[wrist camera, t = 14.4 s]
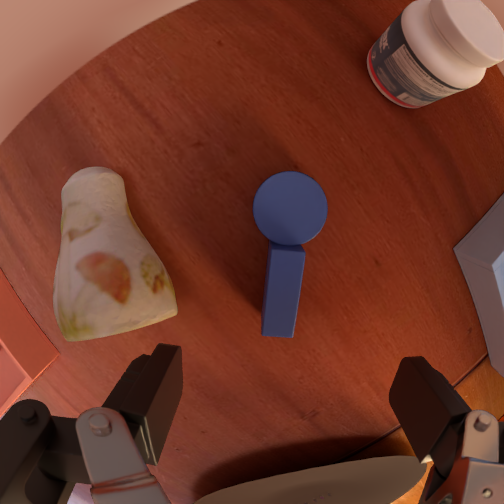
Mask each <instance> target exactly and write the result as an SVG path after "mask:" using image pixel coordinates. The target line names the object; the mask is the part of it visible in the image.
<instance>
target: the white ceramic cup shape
mask: <svg viewBox="0 0 504 504" xmlns="http://www.w3.org/2000/svg"><path fill="white" fill-rule="evenodd" d="M61 199H62V212H63V213H62V217H61V234H62V239H61V245H60V250H59V255H58V260H57V266H56V272H55V278H54V286H53V307H54V313H55V317H56V320H57V323H58V326H59V328H60V330H61V332H62V334H63V336H64V338H65V339H66V340H67V341H82V340H89V339H95V338H100V337H105V336H110V335H115V334H119V333H123V332H127V331H131V330H135V329H138V328H142V327H145V326H148V325H151V324H154V323H157V322H160V321H162V320H165V319H167V318H170V317H173V316H175V315H177V313H178V308H177V303H176V297H175V291H174V288H173V284H172V281H171V279H170V277H169V274H168V272H167V270H166V268H165V266H164V265H163V263H162V262H161V260H160V259H159V257H158V256H157V254H156V253H155V251H154V250H153V248H152V247H151V245H150V244H149V242H148V241H147V239H146V238H145V237H144V235H143V234H142V232H141V231H140V229H139V228H138V226H137V225H136V223H135V221H134V219H133V217H132V215H131V212H130V210H129V206H128V203H127V198H126V193H125V187H124V181H123V179H122V177H121V176H120V175H118V174H117V173H116V172H114V171H113V170H111V169H109V168H105V167H88V168H85V169H82V170H80V171H78V172H76V173H75V174H73V175H72V176H71V177H70V178H69V180H68V181H67V183H66V184H65V185H64V187H63V189H62V192H61Z"/></svg>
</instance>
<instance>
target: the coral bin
mask: <svg viewBox="0 0 504 504" xmlns="http://www.w3.org/2000/svg"><path fill="white" fill-rule="evenodd" d="M0 348H1V351H0V417H1V416H2V415H3V414H4V413H5V412H6V410H7V409H8V408H9V407H10V406H11V405H12V404H13V403H14V401H15V400H16V399H17V398H18V397H19V396H20V395H21V394H22V393H23V392H24V391H25V389H26V388H27V387H28V386H29V385H30V384H31V383H32V382H33V381H34V380H35V379H36V378H37V377H38V376H39V375H40V374H41V373H42V372H43V371H44V369H45V368H46V367H47V366H48V365H49V364H50V363H51V362H52V361H53V360H54V359H55V358H56V357H57V356H58V355H59V354H60V353H59V351H58V350H57V349H56V348H55V347H54V345H53V344H52V343H51V342H50V340H49V339H48V338H47V337H46V335H45V334H44V333H43V332H42V330H41V329H40V328H39V326H38V325H37V324H36V322H35V321H34V319H33V318H32V317H31V315H30V314H29V312H28V311H27V310H26V308H25V307H24V305H23V304H22V302H21V301H20V299H19V298H18V296H17V295H16V293H15V291H14V290H13V288H12V287H11V285H10V283H9V282H8V280H7V278H6V277H5V275H4V273H3V272H2V270H1V268H0Z"/></svg>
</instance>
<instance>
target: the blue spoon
mask: <svg viewBox="0 0 504 504" xmlns="http://www.w3.org/2000/svg"><path fill="white" fill-rule="evenodd" d="M327 210H328V206H327V200H326V196H325V194H324V192H323V190H322V188H321V187H320V185H319V184H318V183H317V182H316V181H315V180H314V179H313V178H311V177H310V176H308V175H306V174H304V173H301V172H296V171H284V172H279V173H277V174H274V175H272V176H270V177H269V178H268V179H266V180H265V181H264V182H263V183H262V184H261V185H260V187H259V188H258V190H257V192H256V194H255V197H254V201H253V216H254V220H255V222H256V225H257V227H258V228H259V230H260V231H261V232H262V234H263V235H264V236H265V237H267V238H268V239H269V247H268V257H267V267H266V277H265V286H264V296H263V305H262V314H261V334H262V336H273V337H288V338H292V337H293V335H294V329H295V323H296V317H297V310H298V304H299V297H300V291H301V284H302V277H303V269H304V262H305V254H306V253H305V251H304V249H303V248H302V246H301V245H300V244H303V243H306V242H308V241H310V240H311V239H312V238H314V237H315V236H316V235H317V234H318V233H319V232H320V230H321V229H322V227H323V225H324V223H325V221H326V218H327Z"/></svg>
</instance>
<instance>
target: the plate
mask: <svg viewBox="0 0 504 504" xmlns="http://www.w3.org/2000/svg"><path fill="white" fill-rule="evenodd" d="M426 466H427V464H426V463H422V464H420V463H419V461H418V458H417V457H414V456H388V457H376V458H369V459H363V460H357V461H349V462H343V463H338V464H333V465H328V466H322V467H316V468H310V469H306V470H301V471H297V472H292V473H286V474H281V475H276V476H272V477H268V478H264V479H259V480H255V481H250V482H246V483H242V484H239V485H235V486H232V487H228V488H225V489H221V490H219V491H216V492H214V493H211V494H209V495H206V496H204V497H202V498H201V499H199V500H198V501H196V502H195V503H193V504H390V503H391V502H393V501H395V500H396V499H398V498H399V497H401V496H402V495H404V494H405V493H406V492H408V491H409V490H410V489H411V488H412V487H414V486H415V485H416V484H417V483H418V482H419V481H420V479H421V478H422V477H423V475H424V473H425V472H426Z"/></svg>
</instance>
